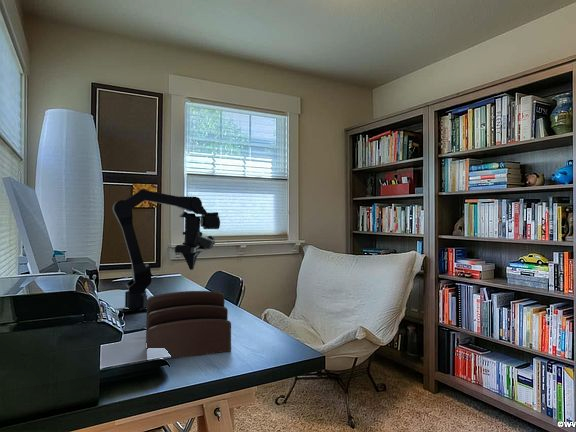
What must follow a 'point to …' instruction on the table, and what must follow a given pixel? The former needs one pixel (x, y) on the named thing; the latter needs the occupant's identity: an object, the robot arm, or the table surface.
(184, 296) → the letter holder
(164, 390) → the table surface
